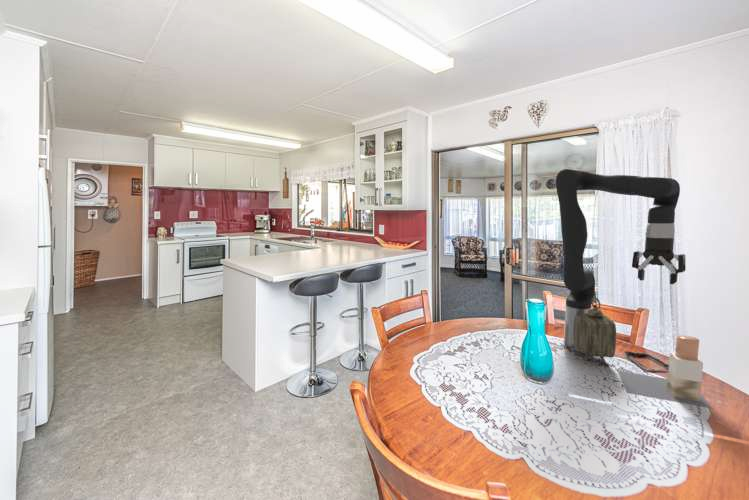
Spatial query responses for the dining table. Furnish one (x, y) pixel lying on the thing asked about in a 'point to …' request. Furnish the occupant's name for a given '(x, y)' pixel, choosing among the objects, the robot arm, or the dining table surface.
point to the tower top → (685, 368)
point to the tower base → (684, 388)
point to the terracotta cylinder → (687, 347)
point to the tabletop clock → (595, 333)
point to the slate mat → (654, 388)
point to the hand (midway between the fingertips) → (656, 282)
